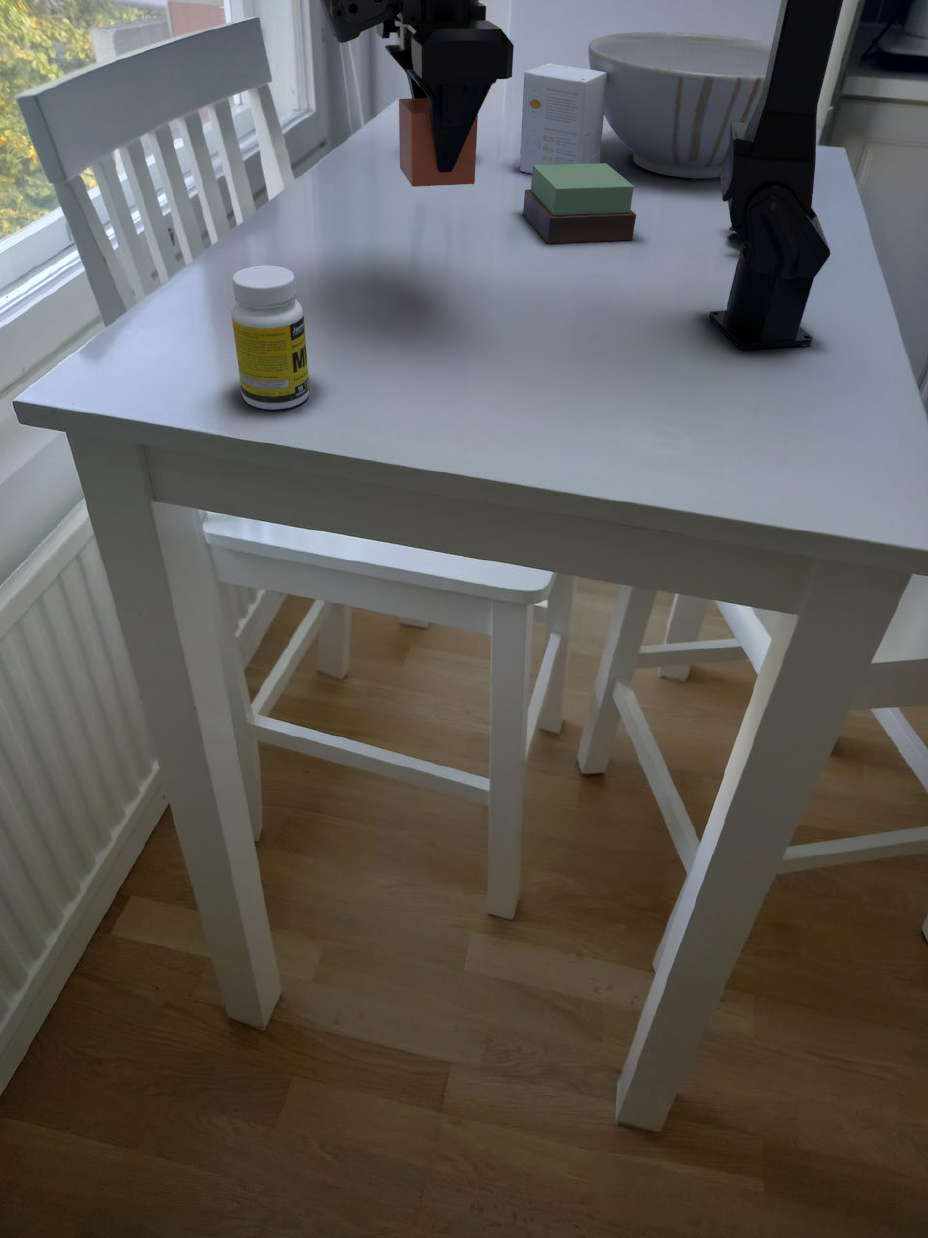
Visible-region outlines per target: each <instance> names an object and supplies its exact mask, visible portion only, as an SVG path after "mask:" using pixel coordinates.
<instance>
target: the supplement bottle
mask: <svg viewBox="0 0 928 1238" xmlns="http://www.w3.org/2000/svg"><path fill="white" fill-rule="evenodd" d="M232 287H233V288H232V289H233V296H234V300H235V303H234V305H232V308H231V322H232V329H233V336H234V345H235V351H236V359H237V367H238V369H237V370H238V375H239V384H240V392H241V395H242V398H243V400H244V401H245V402H246V403H247V404H248V405H250V406H252V407H254V408H258V409H262V410H283V409H284V410H285V409H290V408H293V407H296V406H298V405H300V404H302V403H304V402H305V401H306V399H307V398H308V397H309V394H310V378H309V366H308V355H307V340H306V328H305V326H306V325H305V316H304V310H303V307H302V305H301V303H300V302H299V301H298V300H297V294H298V289H297V283H296V276H295V274H294V272H293V271H292V270H291V269H289V268H286V267H282V266H278V265H255V266H249V267H245V268H242V269H239V270H238V271H236V272H235V273H234V274H233V275H232Z"/></svg>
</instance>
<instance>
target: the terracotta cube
mask: <svg viewBox="0 0 928 1238" xmlns="http://www.w3.org/2000/svg"><path fill="white" fill-rule="evenodd" d="M398 127H399V129H398V130H399V135H398V137H399V140H398V141H399V169H400V170H401V172H402V173H403V175H404V176H405V178H406V180H407V181H408V183H409V184H410V186H411V187H412V188H413V187H414V188H415V187H437V186H438V187H439V186H459V185H460V186H461V185H474V184H475V183H476V158H477V157H476V156H477V155H476V154H477V145H476V131H477V132H478V121H477V117H476V119H475V121H474V123H473V125H472V127H471V130H470V132H469V134H468V137H467V139H466V141H465V143H464V146H463V148H462V150H461V153H460V155H459V157H458V159H457V162H456V164H455V166H454V169H453V171H451V172H442V173H441V172H439V171H438V169H437V163H436V157H435V150H434V143H433V136H432V129H431V121H430V114H429V107H428V99H427V98H414V99H412V98H399V99H398Z"/></svg>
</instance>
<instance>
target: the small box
mask: <svg viewBox="0 0 928 1238" xmlns="http://www.w3.org/2000/svg"><path fill="white" fill-rule="evenodd" d="M607 77H608V73H607V72H602V71H596V70H590V68H583V67H582V68H581V67H577V66H576V67H575V66H568V65H563V64H562V65H561V64H557V63H556V64H555V63H545V64H543V65H539V66H537V67H534V68H531V69H529V70H526V71H525V72H524V73H523V91H522V92H523V93H522V94H523V95H522V111H521V112H522V114H521V115H522V116H521V136H520V137H521V138H520V158H519V171H520V172H523V173H527V174H532V171H533V165H554V164H596V163H600V157H601V150H602V149H601V148H602V140H603V139H602V138H603V128H604V118H605V116H604V108H605V99H606V88H607Z"/></svg>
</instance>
